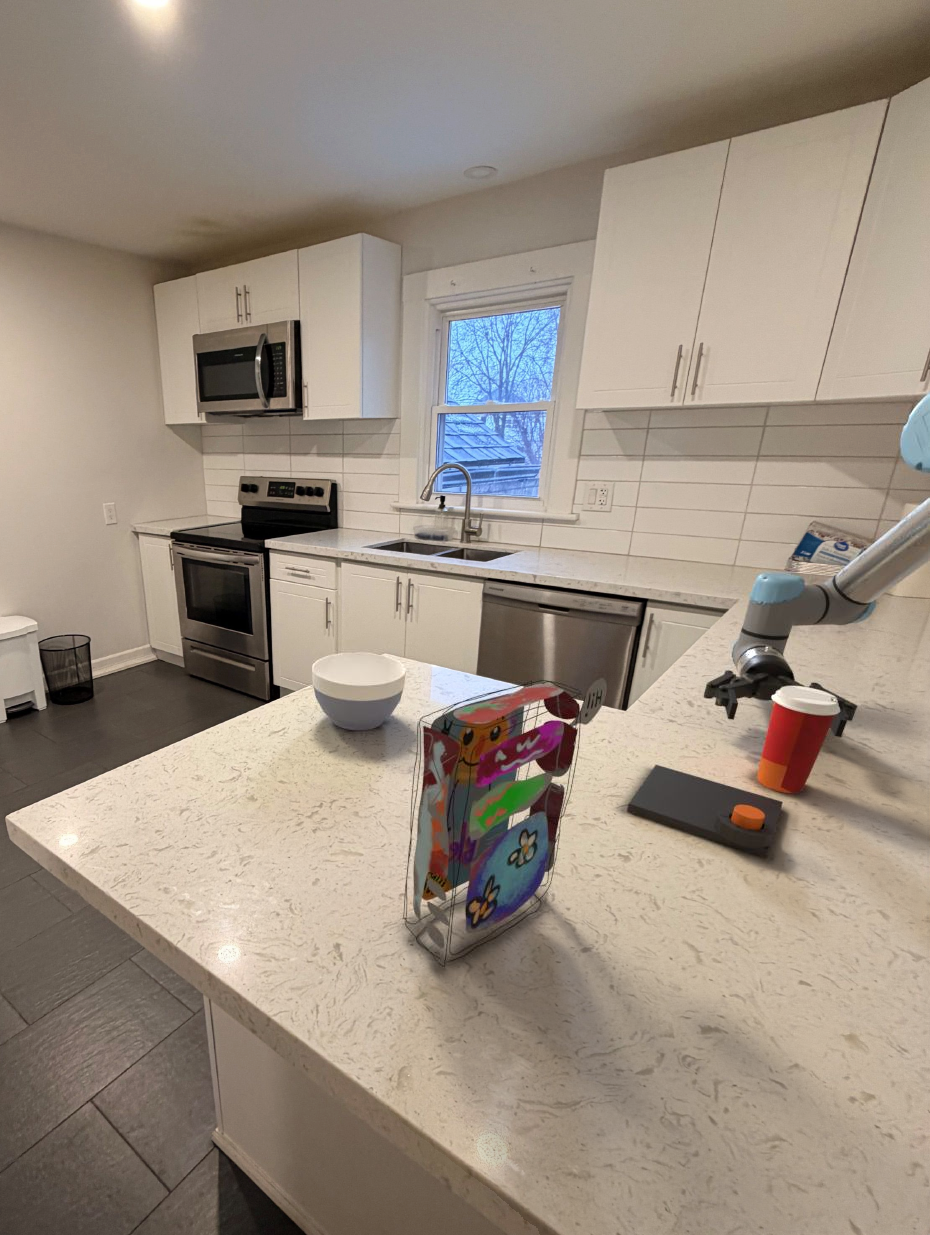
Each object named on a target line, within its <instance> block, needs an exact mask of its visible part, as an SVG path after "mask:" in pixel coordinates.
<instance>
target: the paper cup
mask: <svg viewBox="0 0 930 1235" xmlns="http://www.w3.org/2000/svg"><path fill="white" fill-rule="evenodd" d="M771 698H772V700H771V701H772V702H773V706H772V709H771V713H770V718H769V722H768V726H767V731H766V735H765V740H764V744H763V748H762V753H761V756H760V760H759V761H760V762H759V766H758V771H757V776H756V778H757V781H758V782H759V783H760V784H761V785H762V786H764V787H765V788H768V789H771V790H773V791H776V792H780V793H784V794H798V793H801V792H802V791H803V789H804V788H805V786H806V783H807V782H808V779H809V776H810V774H811V772H812V770H813V768H814V765H815V763H816V761H817V759H818V756H819V754H820V752H821V749H822V747H823V744H824V743H825V740H826V738H827V736H828V733H829V732H830V730H831V729H830V726H831V724H832V722H833V719H834V717H835V715H836V714H838V713H839V712H840V708H839V706H838V705H839V704H838V701H837V698H836V697H835V696H833V695H831V694H829V693H827V692H824V691H821V690H817V689H813V688H809V686H807V687H802V686H785V687H782V688H781V689H780V690H777V691H776V694H774V695H772V697H771Z"/></svg>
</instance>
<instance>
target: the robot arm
mask: <svg viewBox="0 0 930 1235" xmlns="http://www.w3.org/2000/svg"><path fill="white" fill-rule="evenodd" d="M901 431H902V432H901V435H900V443H899V447H900V448H899V449H900V454H901V457H902V459H903V460H904V462H905V464H906V465H908V467H910V468H911V469H914V470H916V471H918V472H920V473H924V474H930V392H928V393H927V394H926V395H925V396H924V397H923V398H922V399H921V400H920V401H919V402H918V403H917V404H916V406H915V407H914V408H913V410H912V411H911V412H910V414H909V415H908V420H907V423H906V424H905V425H904V426H903V428H902V430H901ZM929 562H930V496H929V497H928V498H927V499H926V500H924V501H923V502H922V503H921V504H919V505H918V506H917V507H916V508H914V509H913V511H910V513H909V514H908V515H906V516H905V517H904V518H902V519H901V520H900V521H899V522H898V523H897V524H895V525H894V526H893V527H891V528H890V530H888V531H887V532H886V533H884V534H883V535H882V536H881V537H880V538H878V539H877V540H876V541H875V542H873V544H871V545H870V546H868V547H867V548H866V549H865V550H864V551H863V552H861V554H859V555H858V556H857V557H855V558H854V559H853V560H852V561H851V562H849V563H848V564H847V565H846V566H844V567H843V568H842V569H841V570H840V571H838V572H837V573H836V574H835V575H833V576H832V577H830V578H829V579H828V580H827V581H826V582H824V583H814V584H813V583H812V584H806V581H805V579H804V578H803V577H802V576H799V575H796V574H793V573H784V572H763V573H760V574H759V575H758V576H757V577H756V579H755V581H754V584H753V585H752V588H751V591H750V594H749V597H748V598H749V599H748V604H747V608H746V611H745V615H744V619H743V624H742V627H741V630H740V632H739V635H738V638H737V639H736V640H735V641H734V643H733V645H732V650H731V658H732V662H733V664H734V666H735V668H736V671H737V674H738V676H737V674H736V673H734V671H733V670H729V669H728V670H724V673H723V674H722V675H720V676H717V677H716V678H714V679H712V680H710V681H708V682H706V685H705V687H704V688H705V689H704V693H703V695H702V696H703V698H704V699H709V700H711V699H713V698H715V701H714V705H715V706H716V707H724V708H725V709H724V710H725V712H726V716H727V719H728V720H735V717H736V713H737V709H738V706H739V701H738V699H743V698H747V699H755V700H759V701H766V702H767V701H773V700H772V698H771V697H772V695H774V694H776V691H777V690H780V689H781V688H782V687H785V686H802V687H809V688H813V689H817V690H821V691H824V692H827V693H829V694H831V695H833V696H835V697H836V698H837V701H838V704H839V705H838V706H839V708H840V712H839V713H838V714H836V715H835V717H834V719H833V722H832V724H831V726H830V729H829V730H830V731H831V733H832V734H833V736H834V737H836V738H842V737H843V734H844V731H845V728H846V725H847V722H848V721H849V722H853V720H854V717H855V714H856V711H857V709H858V705H857V704H855V703H853V702H851V701H849V699H845V698H844V697H841V695H840V696H839V695H838V694H836V693H834V692H832V691H830V690H828V689H826V688H825V687H823V686H822V685H821V684H820V683H818V682H810V684H809V686H805V685H804V684H802V683H800V682H798V681H796V678H795V673H794V672H793V670H792V667H791V666H790V664H789V663H788V662H787V659H786V658H785V656H784V652H785V650H786V646H787V642H788V639H789V638H790V635H791V632H792V628H793V627H797V626H799V627H801V626H803V627H804V626H830V625H831V626H833V625H834V626H845V625H849V624H857V623H861V622H864V621H865V620H867V619H869V617H871V615H872V614H873V612H874V610H875V609H876V607H877V600H878V598H880V597H882V595H884V594H885V593H886V592H888V591H889V590H891V589H892V588H894V587H895V586H896V585H897V584H899V583H901V582H902V581H903V580H905V579H906V578H908V577H909V576H910V575H912V574H913V573H914V572H916V571H917V570H918V569H920V568H921V567H923V566H924V565H925V564H927V563H929Z"/></svg>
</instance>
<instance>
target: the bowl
mask: <svg viewBox="0 0 930 1235" xmlns="http://www.w3.org/2000/svg"><path fill="white" fill-rule="evenodd" d="M406 674H407V668H406V666H405V665H404V664H403V663H402V662H401V661H399V660H397V659H395V658H393V657H390V656H386V655H382V654H377V653H370V652H341V653H334V654H329V655H326V656H324V657H321V658H319V659H317V660H316V661H314V662H313V664H312V666H311V676H312V686H313V692H314V696H315V699H316V701H317V703H318V705H319V706H320V709H321V710H322V712H323V713H324V714H325V715H326V716H328V717H329V718H330V720H331V722H332V724H334V725H335V726H337V727H339V728H342V729H345V730H350V731H368V730H373V729H376V728H378V727H380V726H381V725H382V724H383V723H384V721H385V720H386V719H387V718H389V717H390V716H392V714H393V712H394V711H395V710H396V708H397V707H398V705H399V704H400V702H401V699H402V695H403V692H404V688H405V684H406V683H405V682H406Z"/></svg>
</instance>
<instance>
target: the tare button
mask: <svg viewBox="0 0 930 1235" xmlns="http://www.w3.org/2000/svg"><path fill="white" fill-rule="evenodd" d="M764 818H765V815H764V813H763V812H762V811H761V810H759V809H757V808H755V807H752V806H748V805H737V806H735V808H734V811H733V814H732V817H731V821H732V822H733V823H734V824H736V825H738V826H739V827H742V828H746V829H749V830H760V829H761V827H762V824H763V821H764Z"/></svg>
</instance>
